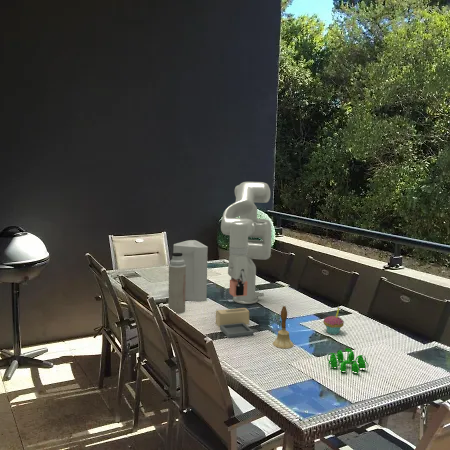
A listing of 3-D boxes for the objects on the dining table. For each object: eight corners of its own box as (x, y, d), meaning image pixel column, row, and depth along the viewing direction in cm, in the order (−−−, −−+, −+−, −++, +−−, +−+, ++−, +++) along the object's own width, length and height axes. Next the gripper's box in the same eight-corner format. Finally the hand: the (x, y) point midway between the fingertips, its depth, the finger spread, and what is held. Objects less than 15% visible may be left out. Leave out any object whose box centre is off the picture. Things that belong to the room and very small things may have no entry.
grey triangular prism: (168, 293, 269) (168, 241, 265) (194, 290, 275) (195, 240, 270) (179, 303, 252) (179, 248, 247) (207, 301, 257) (208, 247, 253)
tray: (243, 326, 222) (243, 322, 222) (253, 335, 212) (253, 331, 212) (219, 329, 218) (219, 325, 218) (228, 338, 208) (229, 334, 208)
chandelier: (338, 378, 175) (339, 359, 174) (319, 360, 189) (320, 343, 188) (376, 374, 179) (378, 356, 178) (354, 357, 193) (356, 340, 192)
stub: (242, 292, 216) (242, 278, 215) (247, 295, 212) (247, 281, 211) (229, 293, 214) (229, 279, 213) (233, 296, 210) (234, 282, 209)
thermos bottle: (187, 309, 244) (188, 252, 240) (182, 314, 236) (183, 255, 232) (171, 307, 245) (171, 251, 241) (166, 312, 238) (166, 254, 233)
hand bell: (280, 350, 198) (281, 310, 195) (268, 342, 205) (270, 304, 202) (297, 346, 202) (299, 308, 199) (285, 339, 209) (287, 302, 206)
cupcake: (344, 330, 221) (345, 304, 219) (341, 337, 213) (343, 309, 211) (324, 327, 224) (325, 301, 222) (321, 334, 216) (322, 307, 214)
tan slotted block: (244, 320, 230) (245, 307, 229) (248, 324, 225) (249, 311, 224) (215, 323, 225) (215, 310, 224) (219, 327, 220) (219, 313, 220)
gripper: (222, 247, 216) (221, 288, 219) (237, 255, 201) (236, 299, 204) (239, 246, 219) (237, 287, 222) (255, 254, 203) (253, 298, 206)
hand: (237, 292), depth 213 cm, fingers closed on stub, 5 cm apart
